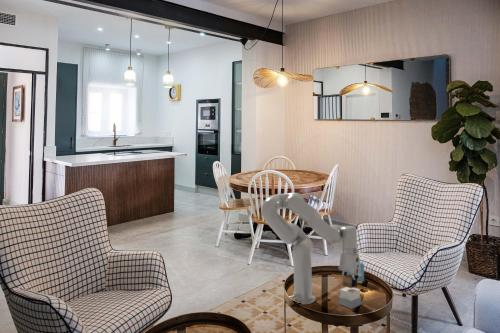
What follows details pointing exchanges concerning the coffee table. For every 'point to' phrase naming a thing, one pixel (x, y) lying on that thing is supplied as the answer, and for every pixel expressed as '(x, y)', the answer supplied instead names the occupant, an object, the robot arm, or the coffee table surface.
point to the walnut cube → (347, 280)
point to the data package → (361, 272)
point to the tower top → (350, 293)
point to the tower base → (350, 302)
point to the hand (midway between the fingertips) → (350, 284)
